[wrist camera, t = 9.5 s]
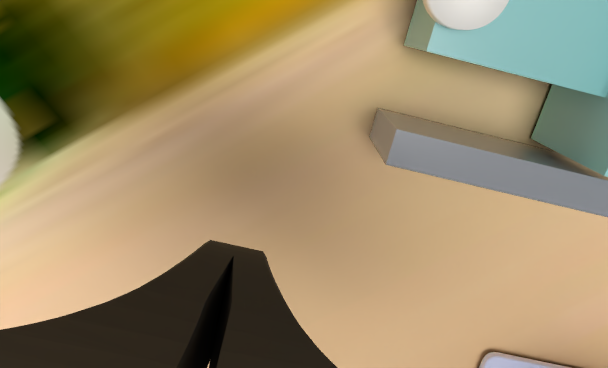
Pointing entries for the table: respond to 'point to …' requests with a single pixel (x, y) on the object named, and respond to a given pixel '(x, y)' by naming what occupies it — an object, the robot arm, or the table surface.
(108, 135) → the table surface
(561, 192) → the grey tray
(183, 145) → the table surface
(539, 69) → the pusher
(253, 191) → the table surface
